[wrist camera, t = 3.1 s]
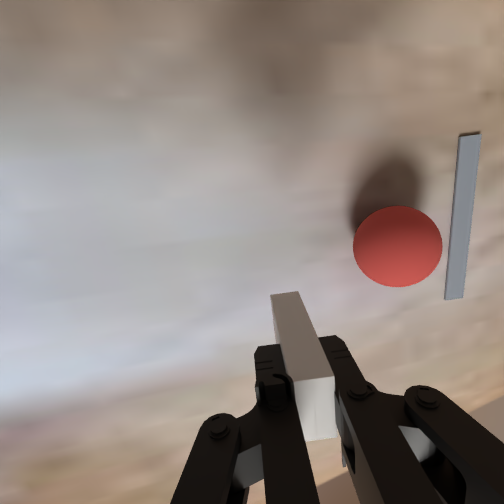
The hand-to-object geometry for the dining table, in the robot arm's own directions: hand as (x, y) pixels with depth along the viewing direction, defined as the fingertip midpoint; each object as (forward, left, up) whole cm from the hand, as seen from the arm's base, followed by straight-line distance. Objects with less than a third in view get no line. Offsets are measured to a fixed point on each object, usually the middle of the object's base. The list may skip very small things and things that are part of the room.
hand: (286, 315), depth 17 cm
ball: (0, +9, -7) cm, 12 cm away
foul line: (0, +16, -10) cm, 19 cm away
